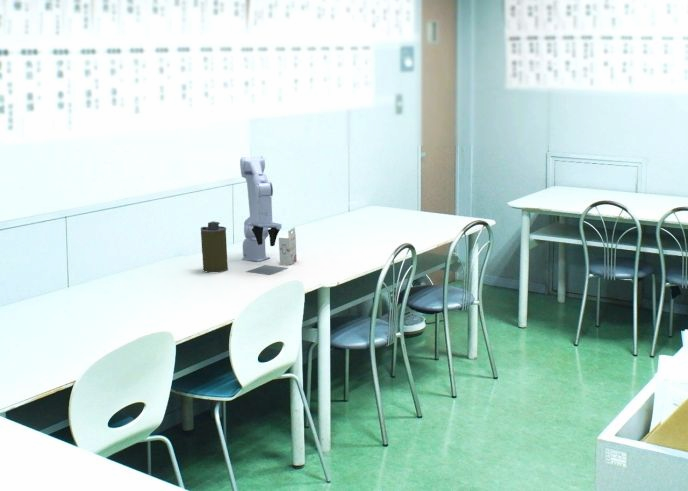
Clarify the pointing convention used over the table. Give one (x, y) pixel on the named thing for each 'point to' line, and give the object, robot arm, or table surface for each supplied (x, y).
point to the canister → (214, 247)
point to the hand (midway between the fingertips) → (266, 245)
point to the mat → (267, 270)
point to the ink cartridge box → (287, 248)
